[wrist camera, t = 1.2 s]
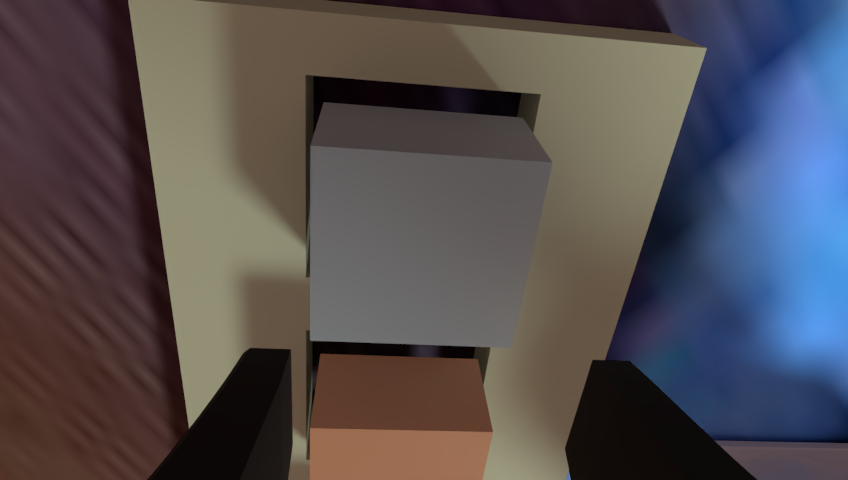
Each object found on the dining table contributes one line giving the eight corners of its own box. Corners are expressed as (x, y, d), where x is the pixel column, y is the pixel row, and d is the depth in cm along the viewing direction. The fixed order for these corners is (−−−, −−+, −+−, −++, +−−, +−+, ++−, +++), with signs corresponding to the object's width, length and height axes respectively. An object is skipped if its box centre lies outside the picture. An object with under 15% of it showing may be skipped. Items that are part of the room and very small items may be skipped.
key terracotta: (477, 359, 19) (493, 432, 16) (458, 464, 21) (468, 542, 18) (320, 353, 18) (309, 428, 16) (318, 462, 21) (309, 542, 18)
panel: (672, 33, 16) (706, 48, 15) (516, 561, 29) (525, 603, 27) (156, -16, 15) (127, -6, 13) (224, 561, 27) (214, 606, 25)
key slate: (522, 117, 15) (552, 162, 12) (491, 281, 17) (511, 347, 15) (323, 102, 14) (310, 145, 12) (321, 273, 17) (310, 340, 14)
